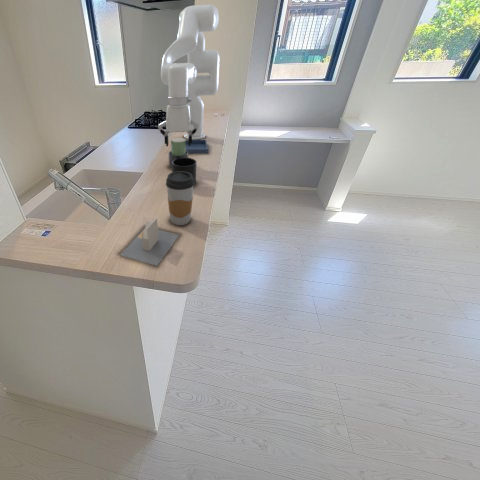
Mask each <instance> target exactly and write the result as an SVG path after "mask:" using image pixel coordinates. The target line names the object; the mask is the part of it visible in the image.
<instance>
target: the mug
mask: <svg viewBox="0 0 480 480" xmlns="http://www.w3.org/2000/svg"><path fill="white" fill-rule="evenodd" d="M177 171H184V172H189V173H191V174H192V175H193V178H194V186H195V185H196V183H197V160H195V159H194V158H191V157H188V158H178V159H175V160H173V161H172V169H171V173H173V172H177Z"/></svg>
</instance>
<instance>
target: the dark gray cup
mask: <svg viewBox="0 0 480 480" xmlns="http://www.w3.org/2000/svg"><path fill="white" fill-rule="evenodd" d="M178 158H189V154H188V151H186V154H185V155H182V156H174V155H171V150H170V151H168V167H169V169H171V170H172V161H173V160H175V159H178Z"/></svg>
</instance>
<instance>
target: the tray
mask: <svg viewBox="0 0 480 480" xmlns="http://www.w3.org/2000/svg"><path fill="white" fill-rule="evenodd" d="M186 151H188V155H189V154H208V153H209V147H208V142H207V139H197V140H192V143H190V146H189V139H186Z"/></svg>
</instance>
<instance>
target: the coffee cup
mask: <svg viewBox="0 0 480 480" xmlns="http://www.w3.org/2000/svg"><path fill="white" fill-rule="evenodd" d="M165 185H166V191H167V202H168V203H167V205H168V210H169V211H168V212H169V220H170V221H171V223H172V224H173V225H175V226H185V225H187V224H189V222H190V221H191V217H192V207H193V200H194V199H193V195H194V187H195V185H194V178H193V175H192V174H191V173H189V172H184V171H177V172H173V173H172V172H170V173H168V175H167V178H166V180H165Z"/></svg>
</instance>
